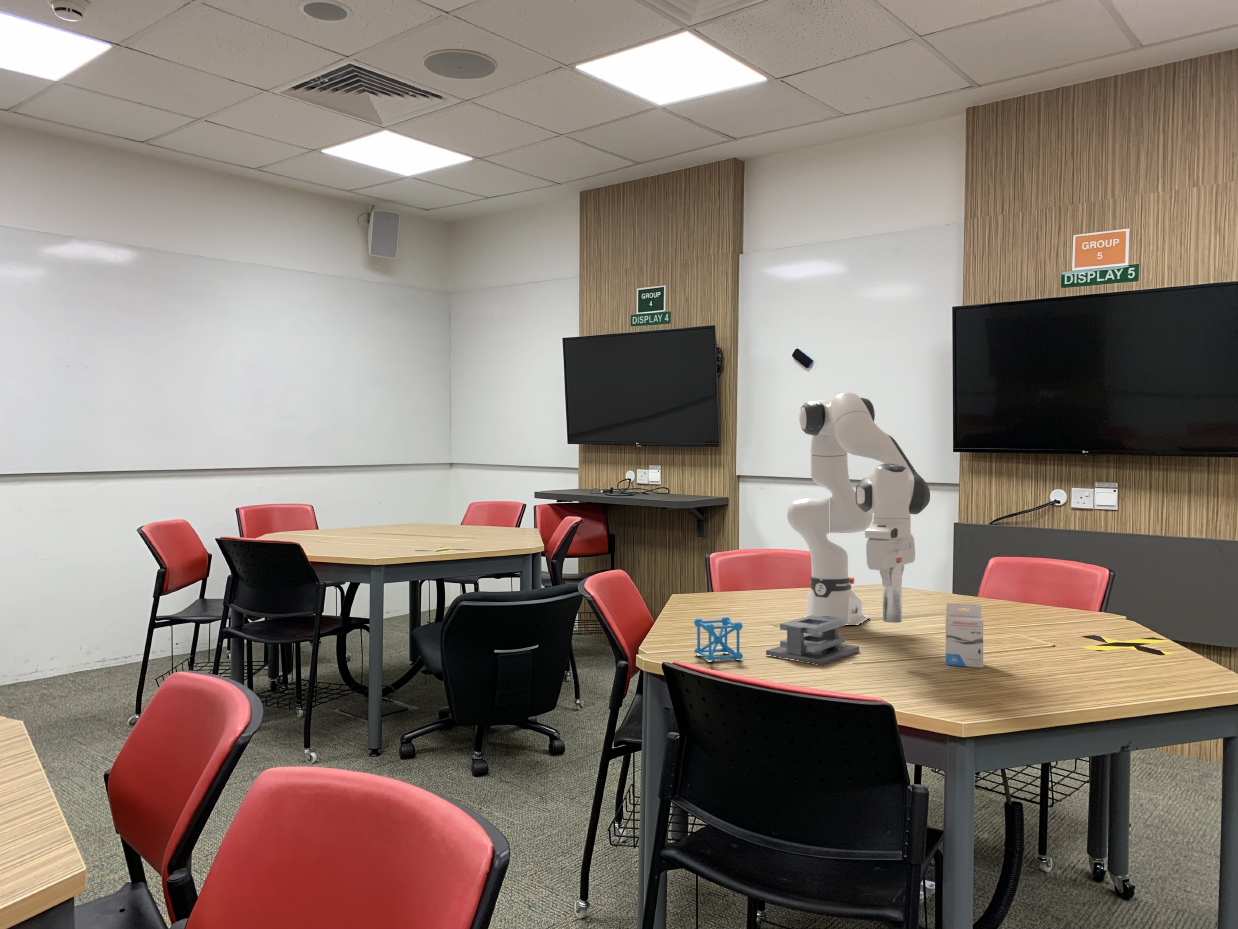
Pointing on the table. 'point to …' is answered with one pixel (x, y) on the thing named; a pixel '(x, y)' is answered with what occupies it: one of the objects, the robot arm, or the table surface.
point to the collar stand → (813, 640)
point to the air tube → (893, 593)
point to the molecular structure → (718, 638)
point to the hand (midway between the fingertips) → (892, 584)
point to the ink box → (964, 635)
